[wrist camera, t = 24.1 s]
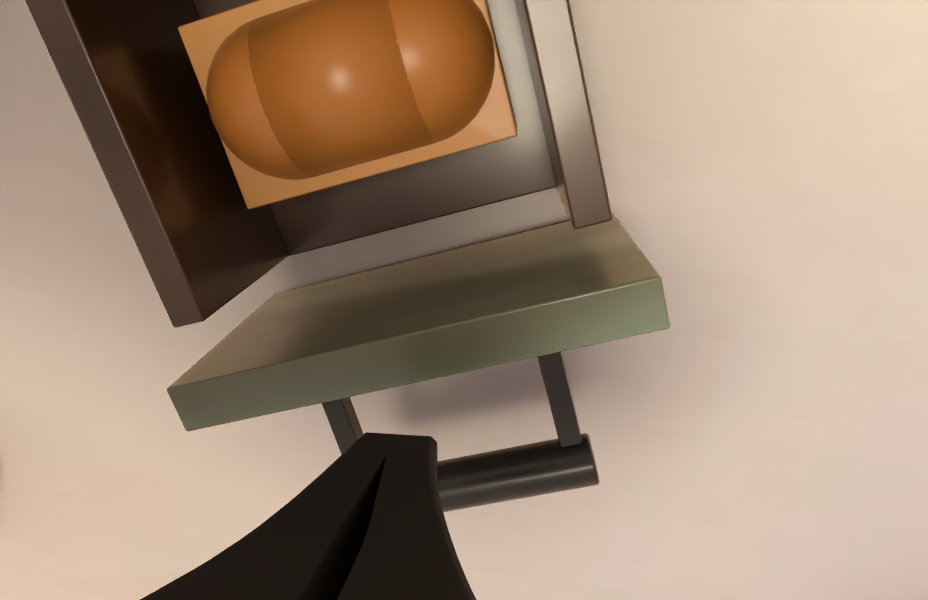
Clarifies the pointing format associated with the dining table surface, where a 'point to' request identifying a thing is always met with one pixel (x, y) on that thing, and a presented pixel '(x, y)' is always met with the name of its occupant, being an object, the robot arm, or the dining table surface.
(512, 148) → the drawer
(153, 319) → the dining table surface
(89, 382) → the dining table surface
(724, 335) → the dining table surface
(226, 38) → the capsule-topped tan block
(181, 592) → the robot arm
